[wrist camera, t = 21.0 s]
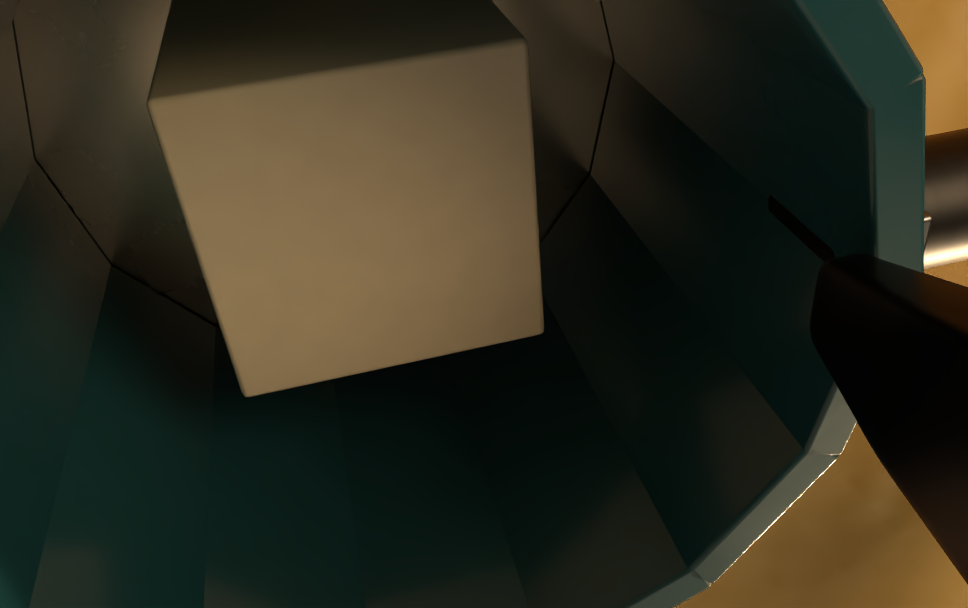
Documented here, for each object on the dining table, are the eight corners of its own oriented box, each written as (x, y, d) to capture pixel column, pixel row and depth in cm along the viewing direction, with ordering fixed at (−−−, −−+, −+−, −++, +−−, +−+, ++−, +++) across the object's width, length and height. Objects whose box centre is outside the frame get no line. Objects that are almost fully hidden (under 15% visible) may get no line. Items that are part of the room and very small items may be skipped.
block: (453, -46, 14) (530, 37, 10) (478, 200, 16) (546, 335, 13) (169, -3, 13) (142, 102, 10) (243, 245, 16) (243, 400, 12)
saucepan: (-167, -231, 11) (-797, -158, 4) (1249, -383, 14) (2171, -479, 7) (114, 393, 18) (34, 819, 11) (1052, 196, 21) (1452, 430, 14)
